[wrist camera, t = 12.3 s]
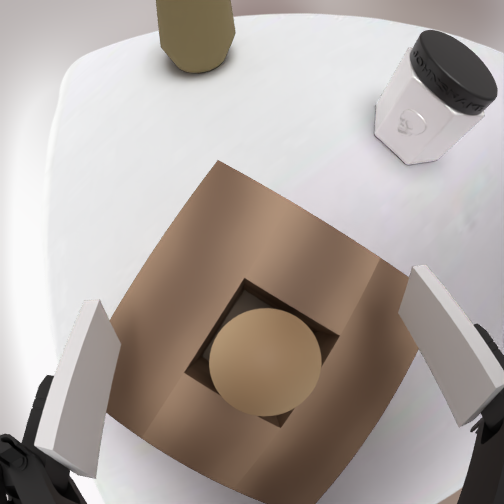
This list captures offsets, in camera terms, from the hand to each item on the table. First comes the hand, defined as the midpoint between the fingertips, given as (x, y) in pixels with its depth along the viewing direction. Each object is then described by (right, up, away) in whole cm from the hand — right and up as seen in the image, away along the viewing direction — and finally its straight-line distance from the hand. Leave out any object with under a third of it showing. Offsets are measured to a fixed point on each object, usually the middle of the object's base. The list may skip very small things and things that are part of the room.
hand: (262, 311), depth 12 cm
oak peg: (0, -5, +10) cm, 11 cm away
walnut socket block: (0, -5, +11) cm, 12 cm away
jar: (+16, +15, +16) cm, 27 cm away
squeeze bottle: (-6, +24, +17) cm, 31 cm away
